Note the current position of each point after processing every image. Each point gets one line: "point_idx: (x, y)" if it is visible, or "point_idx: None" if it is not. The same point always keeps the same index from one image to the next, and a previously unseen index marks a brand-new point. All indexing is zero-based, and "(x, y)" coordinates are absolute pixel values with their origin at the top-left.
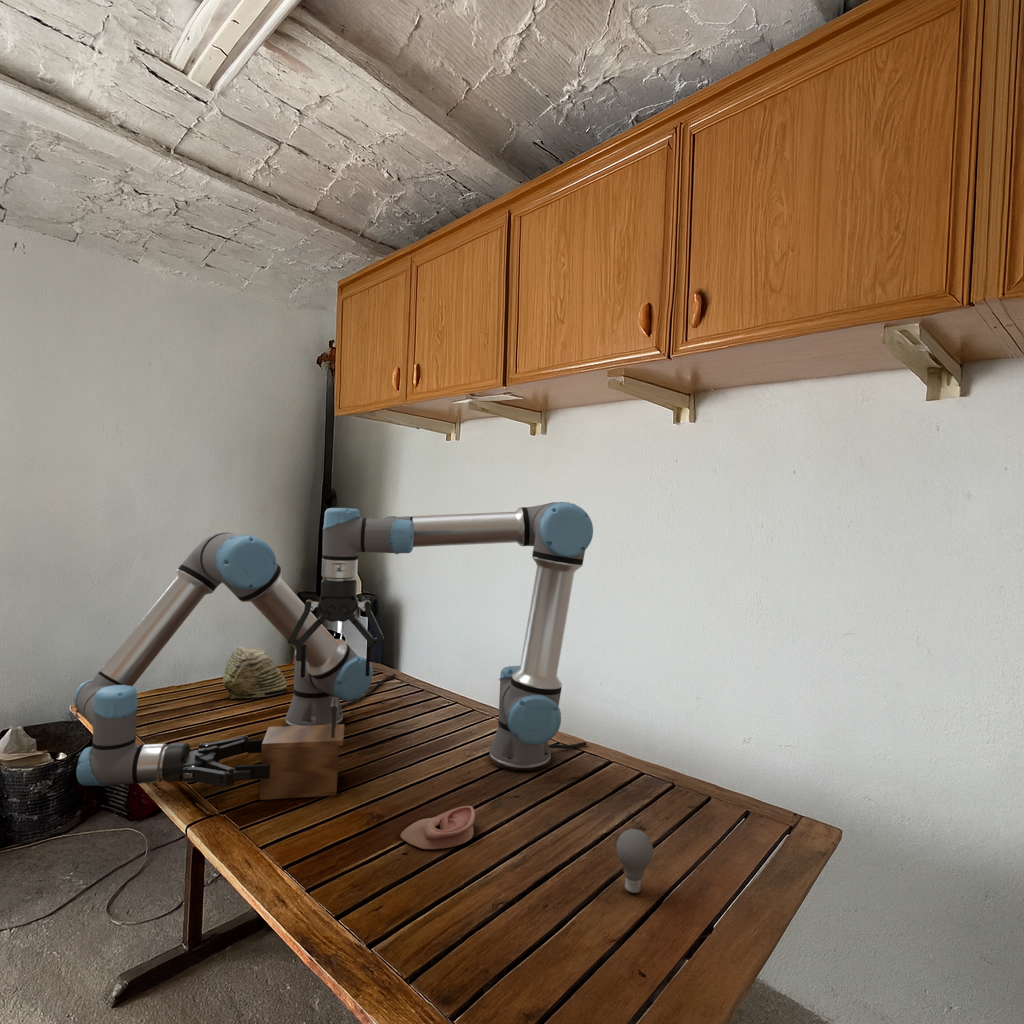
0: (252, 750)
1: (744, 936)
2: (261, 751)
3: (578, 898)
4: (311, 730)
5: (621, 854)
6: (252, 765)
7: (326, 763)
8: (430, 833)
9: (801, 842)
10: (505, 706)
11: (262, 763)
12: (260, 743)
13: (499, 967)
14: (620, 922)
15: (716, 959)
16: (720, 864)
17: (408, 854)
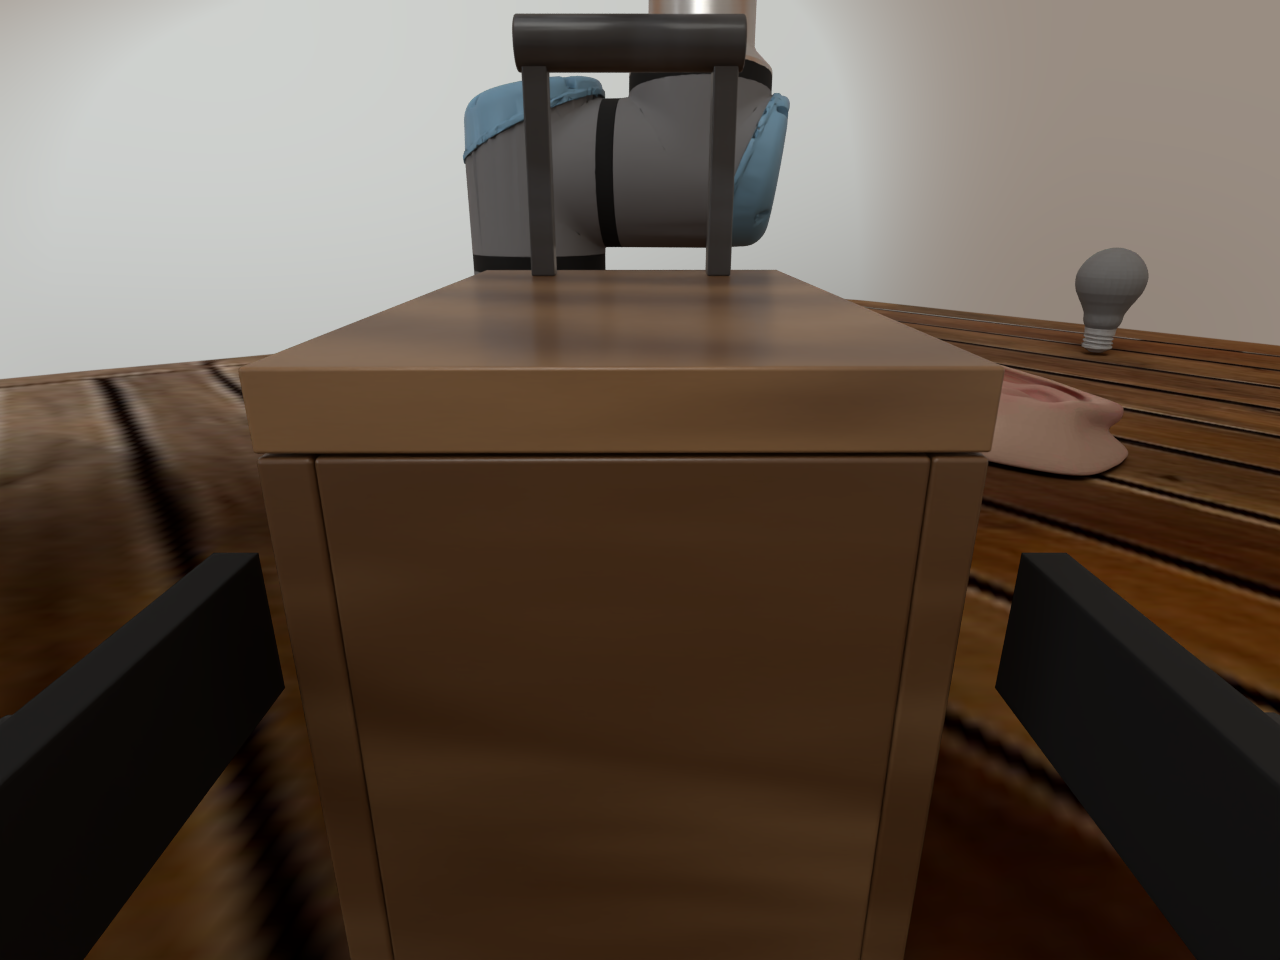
0: (50, 944)
1: (1144, 334)
2: (165, 828)
3: (1160, 374)
4: (560, 292)
5: (1139, 283)
6: (1182, 666)
7: None
8: (1117, 405)
9: (880, 306)
10: (671, 160)
11: (952, 637)
12: (119, 730)
13: None
14: (1199, 364)
15: (1219, 344)
16: (965, 325)
17: (1170, 474)
